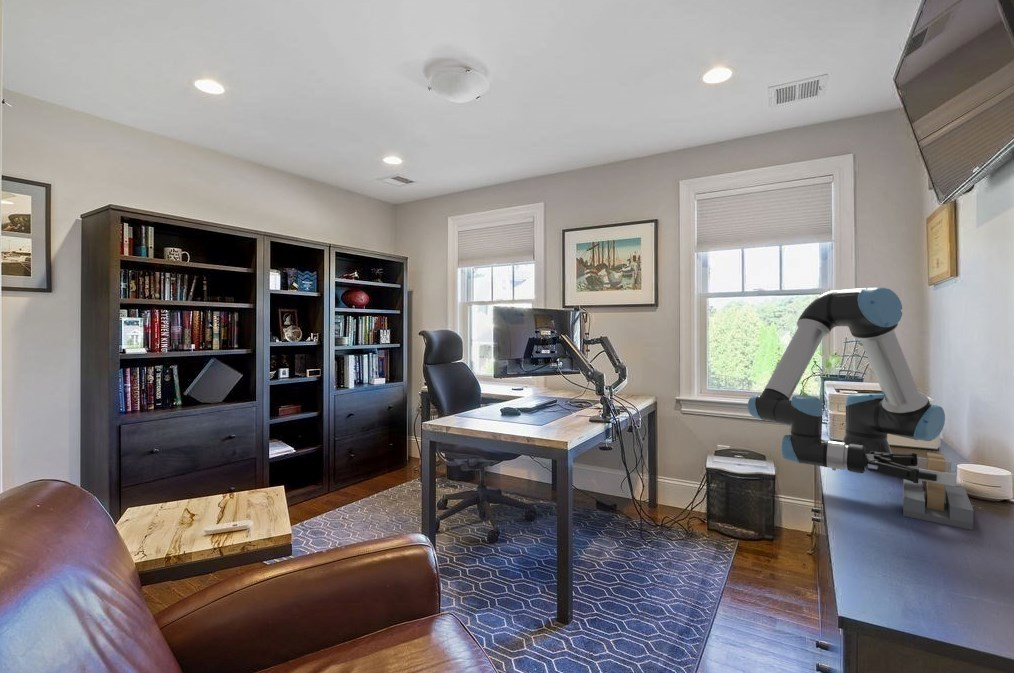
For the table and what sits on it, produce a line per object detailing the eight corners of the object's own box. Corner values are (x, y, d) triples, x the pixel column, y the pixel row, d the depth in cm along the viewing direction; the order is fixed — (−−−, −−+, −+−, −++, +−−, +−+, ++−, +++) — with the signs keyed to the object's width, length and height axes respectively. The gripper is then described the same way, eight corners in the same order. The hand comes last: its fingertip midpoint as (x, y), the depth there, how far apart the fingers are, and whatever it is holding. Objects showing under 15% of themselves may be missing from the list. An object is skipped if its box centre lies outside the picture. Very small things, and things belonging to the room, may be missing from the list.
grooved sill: (903, 493, 128) (903, 477, 128) (963, 504, 120) (964, 487, 120) (903, 515, 113) (903, 497, 113) (972, 530, 105) (973, 510, 105)
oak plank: (925, 497, 121) (927, 452, 121) (941, 500, 119) (942, 454, 119) (927, 507, 114) (928, 459, 114) (943, 510, 112) (945, 461, 112)
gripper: (850, 460, 138) (948, 476, 124) (842, 481, 119) (957, 502, 105) (851, 435, 138) (949, 448, 124) (843, 452, 119) (958, 469, 105)
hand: (953, 473), depth 114 cm, fingers open, 13 cm apart
